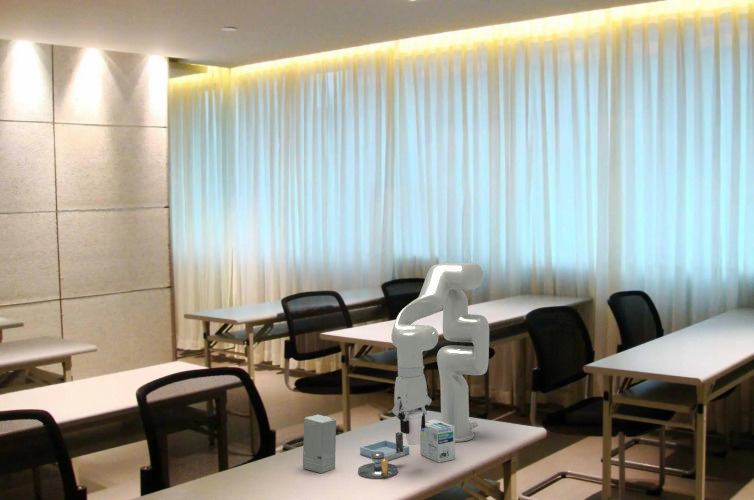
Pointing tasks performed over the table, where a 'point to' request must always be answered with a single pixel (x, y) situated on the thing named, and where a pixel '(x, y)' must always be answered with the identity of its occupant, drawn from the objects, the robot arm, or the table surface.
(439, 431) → the light bulb box
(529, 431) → the table surface
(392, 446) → the tray
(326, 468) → the skincare box
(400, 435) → the crank
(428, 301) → the robot arm
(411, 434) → the smoothie
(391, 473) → the crank base
